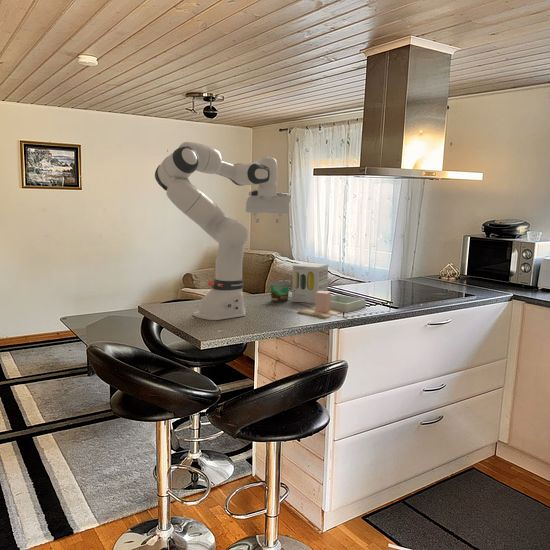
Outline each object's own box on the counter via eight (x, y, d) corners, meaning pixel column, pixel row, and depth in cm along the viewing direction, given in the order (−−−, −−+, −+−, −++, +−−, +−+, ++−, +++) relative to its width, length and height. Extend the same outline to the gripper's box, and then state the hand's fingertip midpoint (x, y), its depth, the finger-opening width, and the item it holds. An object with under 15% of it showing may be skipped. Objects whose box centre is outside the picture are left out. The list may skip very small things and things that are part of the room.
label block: (325, 312, 212) (326, 293, 211) (314, 310, 214) (315, 292, 213) (330, 310, 217) (330, 291, 216) (319, 308, 219) (319, 290, 218)
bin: (346, 313, 215) (346, 304, 214) (317, 307, 225) (317, 298, 224) (365, 307, 226) (365, 299, 226) (336, 302, 236) (337, 294, 236)
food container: (280, 303, 231) (280, 282, 230) (269, 301, 235) (269, 280, 233) (295, 299, 241) (296, 279, 240) (285, 298, 245) (285, 277, 243)
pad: (324, 318, 204) (324, 316, 204) (297, 313, 213) (297, 311, 213) (343, 313, 215) (343, 311, 214) (317, 308, 224) (317, 306, 223)
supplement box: (290, 302, 236) (291, 264, 233) (301, 297, 248) (302, 261, 245) (317, 305, 230) (318, 267, 227) (327, 300, 242) (328, 263, 239)
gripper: (290, 193, 236) (289, 222, 238) (246, 192, 236) (246, 222, 238) (290, 193, 229) (289, 223, 232) (245, 192, 230) (245, 222, 232)
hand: (267, 222), depth 235 cm, fingers open, 8 cm apart
